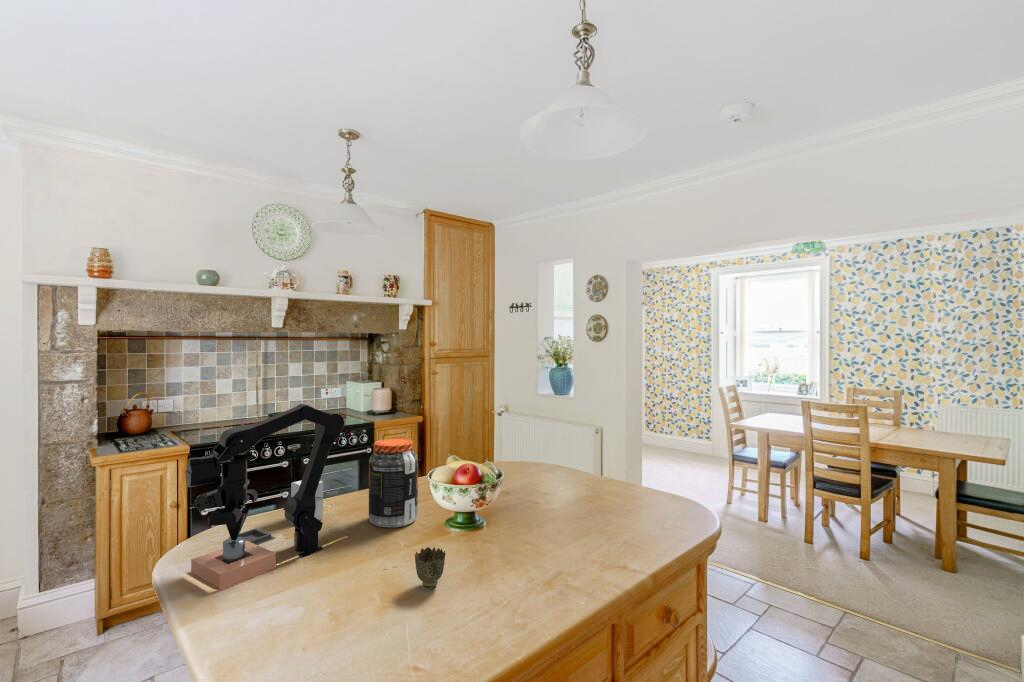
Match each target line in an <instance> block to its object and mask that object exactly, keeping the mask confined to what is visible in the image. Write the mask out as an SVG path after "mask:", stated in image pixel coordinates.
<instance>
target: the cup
mask: <svg viewBox="0 0 1024 682" xmlns="http://www.w3.org/2000/svg"><path fill="white" fill-rule="evenodd" d="M446 555H447V553H446V551H445V550H444V551H443V549H442V548H441V549H440V547H437V549H436V547H433V548H431V547H429V546H427V547H425V549H424V548H423V547H422V548H421V549H420V552H418V551H415V554H414V562H415V571H416V575H417V577H418V579H419V580H420V581H421V584H422V586H423V588H425V589H433V588H435V587H437V585H438V580H440V579H441V577H442V576H443V573H444V569H445V561H446Z"/></svg>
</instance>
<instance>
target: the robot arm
mask: <svg viewBox="0 0 1024 682" xmlns="http://www.w3.org/2000/svg"><path fill="white" fill-rule="evenodd" d="M302 421H303V422H304V421H308V422H311V423H313V424H314V432H313V433H314V443H313V446H312V449H311V452H310V454H309V458H308V461H307V463H306V467H305V468H304V469H305V470H304V472H303V475H302V479H301V480H302V481H301V480H300V481H301V484H300V487H299V490H298V492H297V493H296V494H295V495H294V496H291V494H290V495H288V496H287V499H286V504H285V506H284V508H283V510H282V511H284V518H285V519H286V521H288V523H290V524H291V526H292V527H293V528H294V535H293V536H294V539H293V541H294V545H293V546H294V548H295V549H294V550H295V552H297V553H299V554H298V556H300V557H303V558H304V557H306V556H307V557H308V555H311V554H314V553H316V552H319V551H321V550H323V548H324V546H321V545H319V532H321V530H322V528H323V524H324V522H322V520H318V519H317V518H315V517H314V515H315V509H316V501H315V494H316V491H317V488H318V485H319V482H320V481H321V479H322V475H323V472H324V469H325V466H326V464H327V460H328V457H329V453H330V451H331V448H332V445H333V444H334V443H335V442H336V441H337V439H338V438H339V437H340V435H341V433H342V432H343V429H344V427H345V419H344V417H343V416H342V415H341V414H339V413H336V412H332V411H330V410H327V411H326V410H325V411H322V410H319V409H318V408H317V409H316V408H314V407H312V406H311V405H309V404H304V403H299V404H298V405H296V406H294V407H292V408H290V409H287V410H285V411H283V412H281V413H278V414H275V415H273V416H271V417H268V418H265V419H263V420H261V421H258V422H257V423H256V422H255V423H251V424H247V425H239V426H235V427H232V428H228V429H226V430H224V431H223V432H221V435H220V436H219V439H218V440H219V441H218V443H217V445H216V446H215V447H214V448H213V449H212V451H211V452H210V453H209V455H208V456H207V455H206V456H201V457H189V458H188V459H187V460H188V461H187V465H186V469H185V473H184V474H185V483H186V485H187V488H192V487H193V488H194V487H198V486H205V485H211V484H214V483H216V482H217V481H218V480H220V478H221V483H220V485H219V486H218V487H217V488H216V489H213V490H211V491H209V492H208V491H207V492H204V493H202V494H199V495H198V496H196V498H195V500H194V501H193V502H194V505H193V507H194V508H195V509H197V510H198V512H200V513H201V512H203V511H205V510H206V509H209V508H212V507H215V506H216V509H215V510H214V511H212V513H211V514H209V515H208V516H207V525H208V526H226V528H227V531H228V534H229V537H231V540H236V539H237V538H238V536H239V534H240V532H241V531H242V529H243V526H244V524H245V521H246V520H247V517H248V515H249V513H250V511H251V509H252V507H248V506H247V507H246V505H245V504H247V502H249V500H251V502H252V503H256V502H257V500H258V492H257V490H255V489H248V485H249V484H250V479H248V461H253V460H256V459H257V456H256V455H254V454H253V453H252V452H251V451H250V449H251V448H253V447H255V446H256V445H257V444H258V443H259V442H260V441H261V440H264V439H265V438H266V437H269V436H271V435H273V434H274V435H275V434H276V433H278V432H280V431H283V430H285V429H287V428H290V427H292V426H293V425H294V426H295V425H297V424H298V423H301V422H302Z"/></svg>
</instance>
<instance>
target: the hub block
mask: <svg viewBox="0 0 1024 682" xmlns="http://www.w3.org/2000/svg"><path fill="white" fill-rule="evenodd" d="M276 557H277V553H276V552H274V551H273V550H272V551H271V550H269V549H267V548H265V547H263V546H260V545H256V544H253V543H251V542H249V541H247V540H246V541H245V558H244V559H241V560H238V561H235V562H233V563H230V564H226V563H224V562H223V548H220V549H218V550H214V551H211V552H208V553H206V554H203V555H200V556H196V557H193V558H192V559H190V565H191V566H190V572H191V573H192V574H194V575H196V576H197V577H199V578H201V579H202V580H205V581H206V582H209V583H210V584H212V585H214V586H216V587H214V589H215V590H217V591H219V592H222V591H224V590H226V589H229V588H231V587H233V586H236V585H238V584H241V583H244V582H246V581H248V580H252V579H253V578H256V577H258V576H261V575H263V574H265V573H268V572H270V571H273V570H275V569H276V567H277V566H276V565H277V563H276V562H277V559H276Z"/></svg>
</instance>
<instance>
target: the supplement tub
mask: <svg viewBox="0 0 1024 682" xmlns="http://www.w3.org/2000/svg"><path fill="white" fill-rule="evenodd" d="M413 444H414V441H413V440H412V439H408V438H396V437H395V438H385V439H380V440H376V441H375V442H374V446H373V453H372V454H371V455H370V457H369V460H368V518H369V522H370V523H371V524H372V525H373V526H376V527H378V528H379V527H380V528H399V527H404V526H407V525H410V524H411V523H413V522H415V520H416V519H417V518H418V514H419V513H418V511H419V510H418V509H419V507H418V506H419V505H418V504H419V498H418V495H419V459H418V458H419V457H418V455H417V453H416V452H415V451H414V450H413V449H414V445H413Z"/></svg>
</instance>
